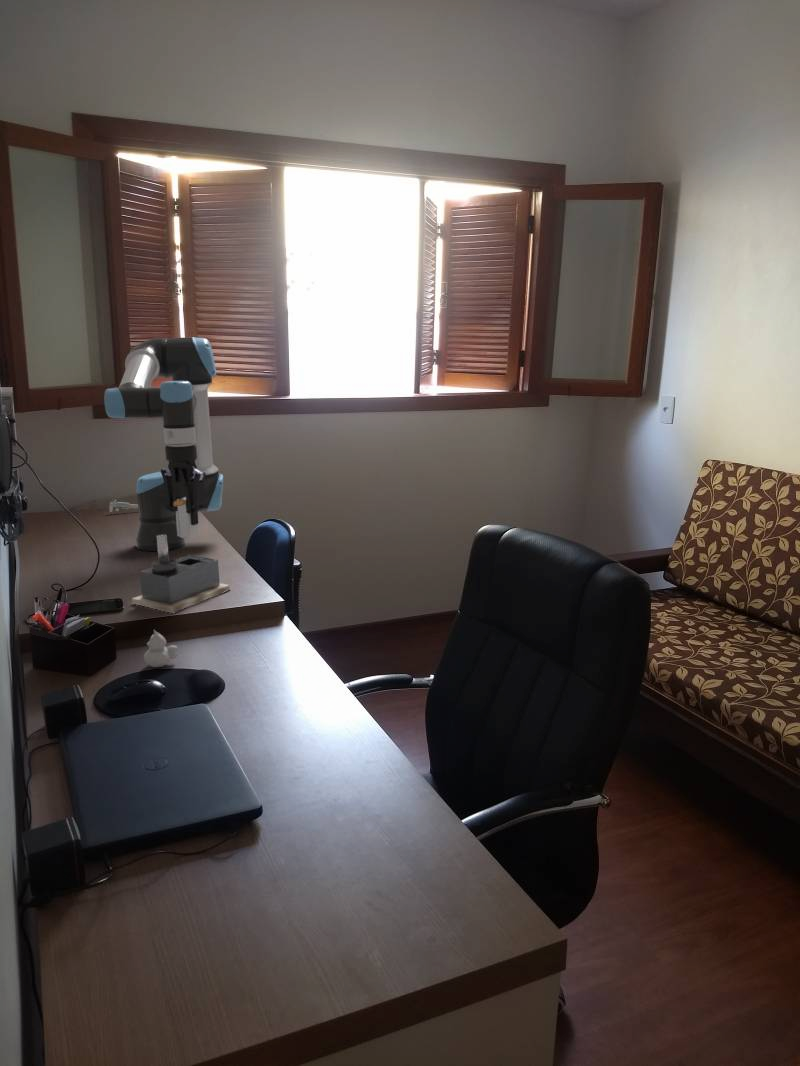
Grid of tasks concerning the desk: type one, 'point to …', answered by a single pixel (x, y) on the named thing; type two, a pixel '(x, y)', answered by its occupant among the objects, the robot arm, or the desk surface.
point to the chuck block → (177, 576)
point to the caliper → (121, 505)
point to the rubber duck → (159, 651)
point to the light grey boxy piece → (182, 516)
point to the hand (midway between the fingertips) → (187, 535)
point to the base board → (182, 603)
